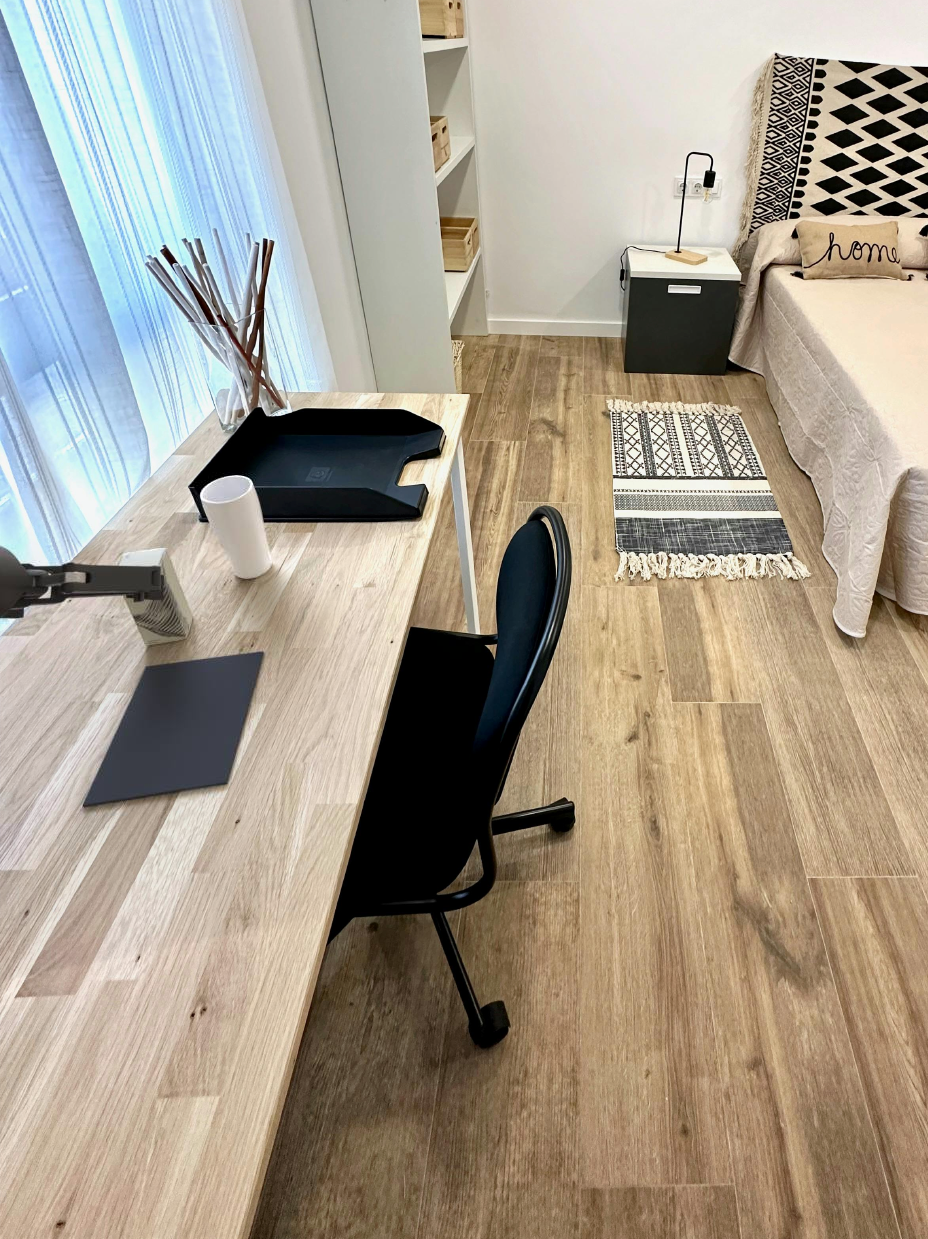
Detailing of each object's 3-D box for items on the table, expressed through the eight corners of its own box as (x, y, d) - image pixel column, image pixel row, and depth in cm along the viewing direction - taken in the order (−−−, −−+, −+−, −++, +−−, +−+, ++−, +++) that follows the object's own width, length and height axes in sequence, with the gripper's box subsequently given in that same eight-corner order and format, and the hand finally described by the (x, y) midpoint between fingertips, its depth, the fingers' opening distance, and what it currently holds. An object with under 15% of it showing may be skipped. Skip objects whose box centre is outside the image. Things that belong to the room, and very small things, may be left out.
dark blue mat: (83, 807, 69) (82, 805, 69) (147, 668, 84) (145, 666, 84) (227, 784, 72) (226, 782, 71) (264, 652, 86) (263, 651, 86)
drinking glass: (255, 589, 96) (227, 508, 88) (218, 577, 98) (187, 497, 89) (288, 559, 101) (264, 480, 93) (252, 548, 103) (226, 470, 95)
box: (145, 647, 87) (108, 576, 80) (153, 622, 90) (119, 552, 83) (189, 639, 88) (157, 568, 81) (196, 615, 91) (166, 545, 84)
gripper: (-264, 658, 49) (-45, 649, 69) (114, 609, 53) (215, 614, 74) (-246, 557, 50) (-38, 577, 71) (117, 518, 55) (215, 547, 75)
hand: (91, 596), depth 72 cm, fingers open, 13 cm apart
